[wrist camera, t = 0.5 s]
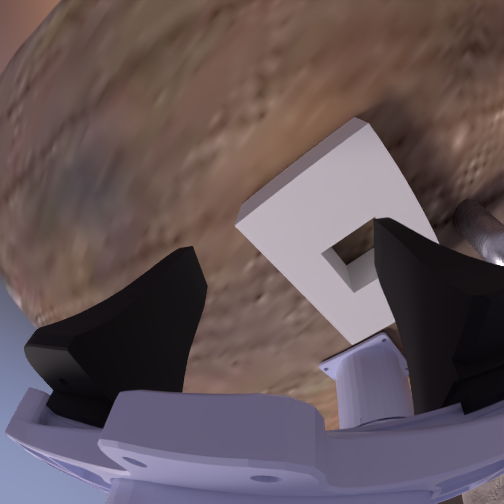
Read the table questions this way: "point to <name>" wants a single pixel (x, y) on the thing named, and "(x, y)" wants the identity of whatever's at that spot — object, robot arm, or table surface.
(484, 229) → the pin
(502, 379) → the robot arm
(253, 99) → the table surface
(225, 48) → the table surface
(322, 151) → the block
